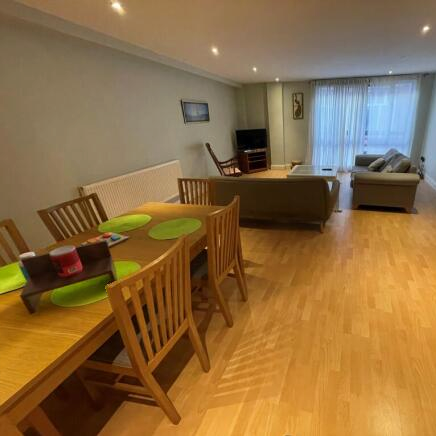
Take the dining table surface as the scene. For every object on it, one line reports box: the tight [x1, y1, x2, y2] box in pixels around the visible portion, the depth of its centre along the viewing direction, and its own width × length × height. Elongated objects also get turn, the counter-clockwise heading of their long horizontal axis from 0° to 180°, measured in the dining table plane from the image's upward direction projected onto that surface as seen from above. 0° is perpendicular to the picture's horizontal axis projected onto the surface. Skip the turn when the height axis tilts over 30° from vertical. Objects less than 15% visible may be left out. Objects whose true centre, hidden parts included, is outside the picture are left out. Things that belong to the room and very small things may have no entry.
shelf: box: [19, 240, 118, 315], centre depth 102 cm, size 28×16×17 cm, turn 126°
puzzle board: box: [80, 231, 130, 248], centre depth 146 cm, size 18×19×4 cm
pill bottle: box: [17, 251, 36, 282], centre depth 110 cm, size 8×7×14 cm
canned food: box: [48, 245, 83, 278], centre depth 100 cm, size 8×8×11 cm
